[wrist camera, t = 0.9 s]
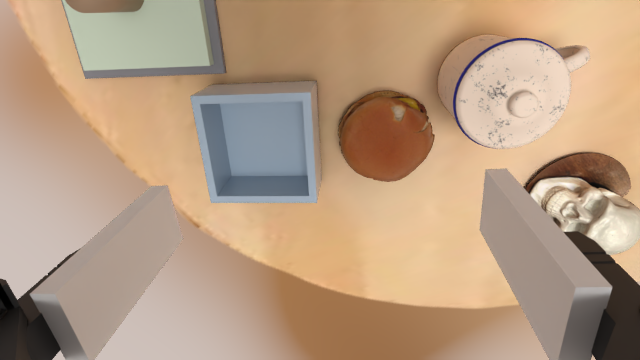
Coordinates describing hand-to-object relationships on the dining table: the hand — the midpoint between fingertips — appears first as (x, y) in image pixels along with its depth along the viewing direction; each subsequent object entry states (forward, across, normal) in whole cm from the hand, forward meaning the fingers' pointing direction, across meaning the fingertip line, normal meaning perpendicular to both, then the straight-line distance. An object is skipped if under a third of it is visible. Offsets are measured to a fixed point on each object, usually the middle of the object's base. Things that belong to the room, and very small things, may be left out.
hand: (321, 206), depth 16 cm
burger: (+27, +4, -6) cm, 28 cm away
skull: (+27, +26, -16) cm, 40 cm away
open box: (+27, -9, -5) cm, 29 cm away
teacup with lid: (+27, +15, 0) cm, 31 cm away
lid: (+26, -20, +10) cm, 35 cm away
